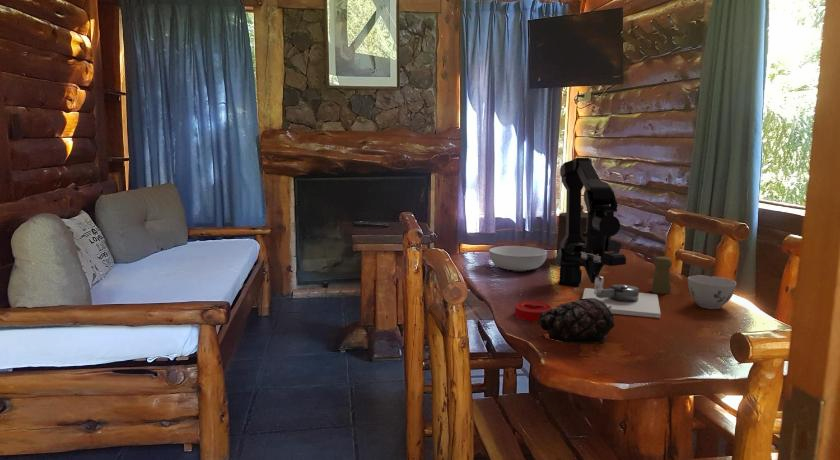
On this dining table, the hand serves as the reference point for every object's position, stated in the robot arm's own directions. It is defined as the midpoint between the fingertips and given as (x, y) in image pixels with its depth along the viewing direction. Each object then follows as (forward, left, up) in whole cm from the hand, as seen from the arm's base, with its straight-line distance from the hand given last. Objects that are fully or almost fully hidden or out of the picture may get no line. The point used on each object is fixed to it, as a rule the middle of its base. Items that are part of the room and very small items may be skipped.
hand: (592, 282), depth 175 cm
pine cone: (-2, -33, -7) cm, 34 cm away
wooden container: (-9, +60, -6) cm, 61 cm away
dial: (+6, +2, -5) cm, 8 cm away
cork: (+20, +22, -6) cm, 30 cm away
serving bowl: (-28, +38, -7) cm, 48 cm away
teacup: (+32, +10, -6) cm, 34 cm away
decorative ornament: (-14, -18, -7) cm, 24 cm away
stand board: (+8, +2, -6) cm, 10 cm away
